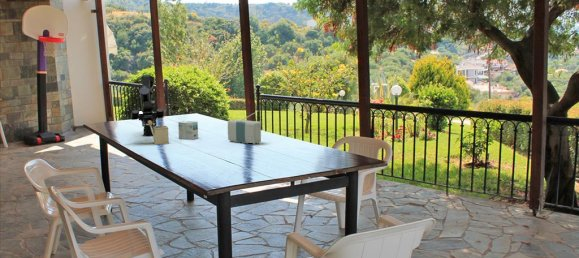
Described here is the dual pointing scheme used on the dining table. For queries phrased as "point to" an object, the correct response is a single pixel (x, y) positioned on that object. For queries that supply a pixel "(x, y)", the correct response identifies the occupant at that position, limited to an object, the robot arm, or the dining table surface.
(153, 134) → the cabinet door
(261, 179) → the dining table surface
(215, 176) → the dining table surface
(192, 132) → the light bulb box
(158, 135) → the kraft carton
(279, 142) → the dining table surface
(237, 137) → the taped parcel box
